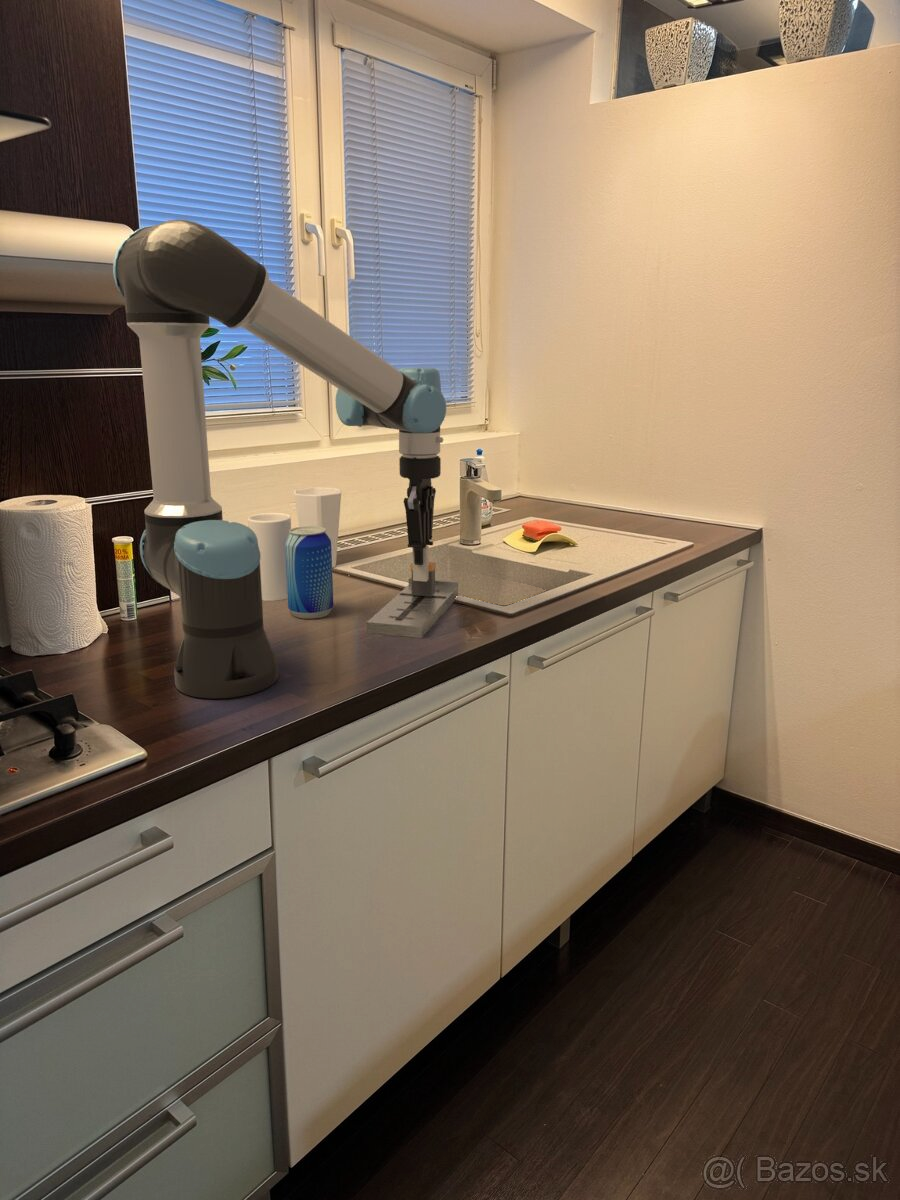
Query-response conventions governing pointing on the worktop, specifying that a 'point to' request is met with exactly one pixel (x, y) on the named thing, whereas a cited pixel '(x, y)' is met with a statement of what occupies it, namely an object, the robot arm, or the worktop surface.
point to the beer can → (309, 572)
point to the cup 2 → (320, 511)
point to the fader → (425, 583)
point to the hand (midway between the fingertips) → (420, 579)
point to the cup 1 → (272, 552)
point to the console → (413, 611)
